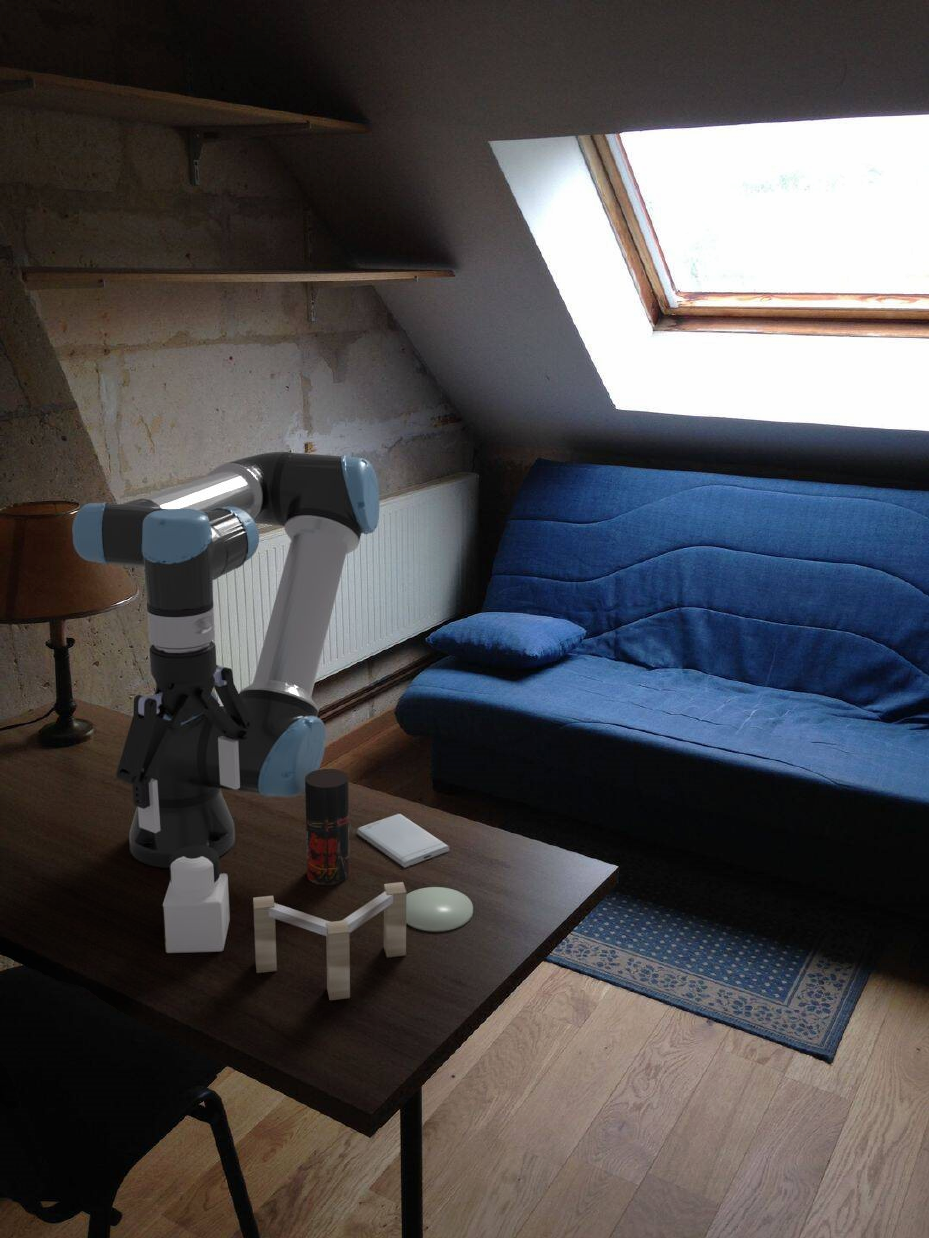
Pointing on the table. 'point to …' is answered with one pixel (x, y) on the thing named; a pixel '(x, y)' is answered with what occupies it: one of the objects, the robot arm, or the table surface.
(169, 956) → the table surface
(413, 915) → the pad
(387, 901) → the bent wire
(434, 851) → the hard drive
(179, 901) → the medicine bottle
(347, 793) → the deodorant
